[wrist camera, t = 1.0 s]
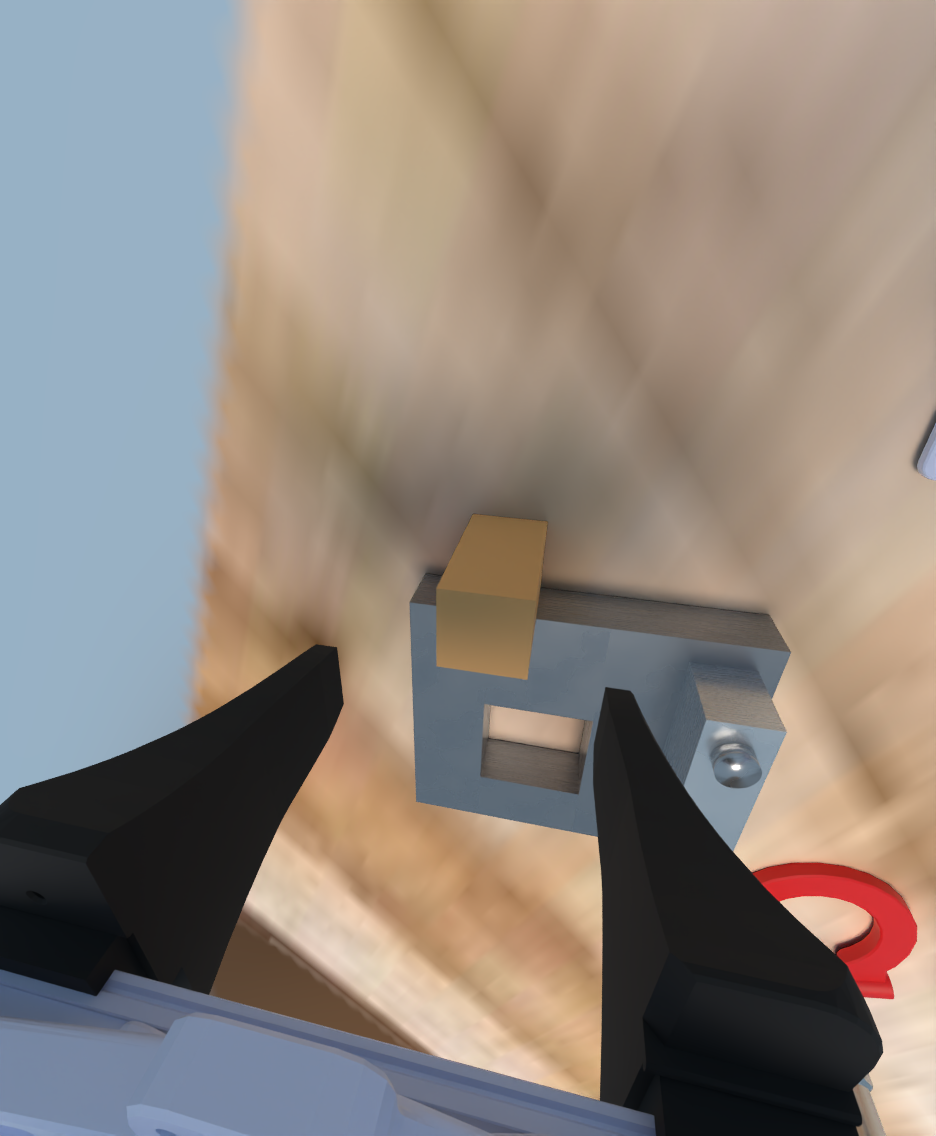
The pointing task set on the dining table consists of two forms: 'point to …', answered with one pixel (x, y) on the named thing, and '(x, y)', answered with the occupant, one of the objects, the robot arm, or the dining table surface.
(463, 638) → the tan rectangular block
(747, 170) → the dining table surface
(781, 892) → the tow hook
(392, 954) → the dining table surface
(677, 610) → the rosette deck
